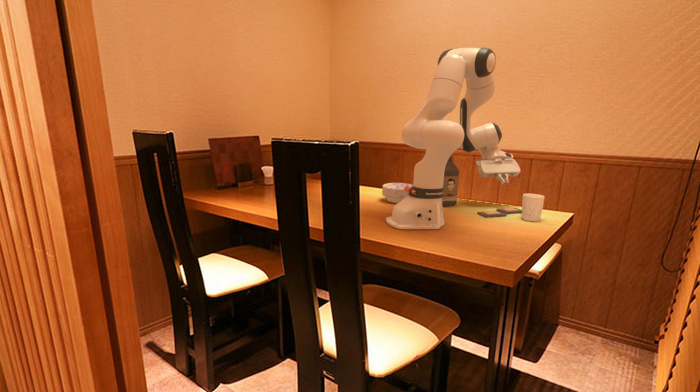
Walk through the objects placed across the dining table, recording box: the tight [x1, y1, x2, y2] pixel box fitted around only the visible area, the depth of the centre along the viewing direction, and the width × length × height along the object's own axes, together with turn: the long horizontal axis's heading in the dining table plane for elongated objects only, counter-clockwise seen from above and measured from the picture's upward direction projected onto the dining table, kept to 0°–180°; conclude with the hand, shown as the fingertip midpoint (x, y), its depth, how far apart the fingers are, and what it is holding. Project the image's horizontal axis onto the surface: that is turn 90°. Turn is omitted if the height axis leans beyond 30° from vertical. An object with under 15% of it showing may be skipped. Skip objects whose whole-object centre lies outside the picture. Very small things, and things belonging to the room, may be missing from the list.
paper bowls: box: [382, 182, 413, 204], centre depth 177 cm, size 15×15×8 cm
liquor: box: [442, 152, 460, 208], centre depth 170 cm, size 9×9×30 cm
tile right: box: [495, 207, 522, 215], centre depth 162 cm, size 10×6×1 cm, turn 106°
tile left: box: [476, 210, 508, 219], centre depth 156 cm, size 10×6×1 cm, turn 106°
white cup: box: [521, 193, 545, 222], centre depth 150 cm, size 8×8×10 cm
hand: (505, 183), depth 165 cm, fingers closed
